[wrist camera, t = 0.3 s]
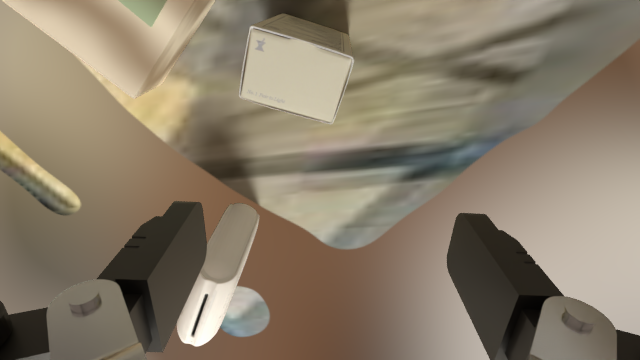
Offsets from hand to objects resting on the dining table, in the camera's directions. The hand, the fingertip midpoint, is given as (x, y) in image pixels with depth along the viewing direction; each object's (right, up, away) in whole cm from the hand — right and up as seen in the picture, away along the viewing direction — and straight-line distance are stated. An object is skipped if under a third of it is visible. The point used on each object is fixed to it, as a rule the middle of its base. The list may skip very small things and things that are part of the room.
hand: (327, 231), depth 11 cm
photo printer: (-10, -5, +31) cm, 33 cm away
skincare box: (-1, +13, +20) cm, 24 cm away
